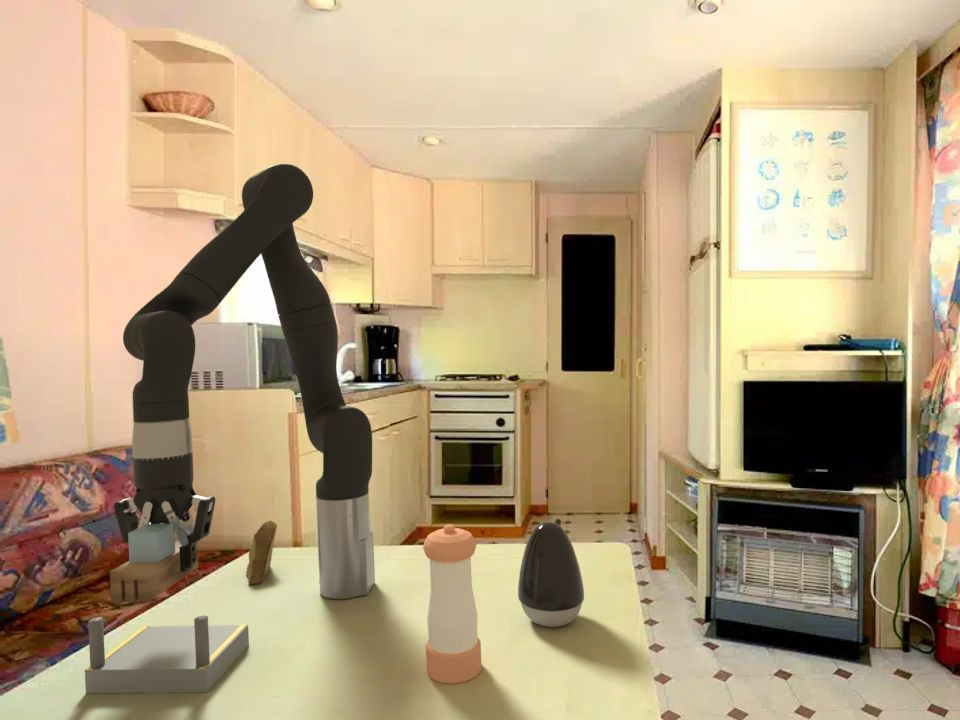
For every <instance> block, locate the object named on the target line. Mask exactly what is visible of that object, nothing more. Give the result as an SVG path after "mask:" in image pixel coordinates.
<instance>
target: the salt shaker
mask: <svg viewBox="0 0 960 720" xmlns="http://www.w3.org/2000/svg"><path fill="white" fill-rule="evenodd" d="M454 525H455V524H450V523H449V524H448V523H447V524H446V525H445V524H444V526H443V528H441V529H440V528H439V529H437V530H435V531H433V532H431V533H429V534H428V535H427V537H426V538H425V541H424V542H423V547H422V549H423V551H424V555H425V556H426V558H427V559H429V575H430V577H429V578H430V579H429V580H430V583H429V585H430V592H429V601H428V610H427V619H426V621H427V634H428V639H427V642H426V645H425V655H426V656H425V657H426V658H425V659H426V660H425V661H426V672H427V675H428V676H429V677H430V679H432V680H434V681H436V682H438V683H442V684H459V683H465V682H468V681H471V680H474V678H475V677H478V675H479V674H480V672H481V671H482V666H483V665H482V647H481V646H482V645H481V643H482V642H481V639H480V638H479V636H478V612H477V606H476V601H475V595H474V590H473V581H472V580H473V578H472V561H471V560H472V556H473V555H474V554H475V551H476V548H477V543H476V542H477V541H476V539H475V537H474V536H473V535H472V533H471V532H470V531H468V530H466V529H463V528H458V527H455V526H454Z"/></svg>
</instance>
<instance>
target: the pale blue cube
mask: <svg viewBox="0 0 960 720" xmlns="http://www.w3.org/2000/svg"><path fill="white" fill-rule="evenodd" d="M175 535H176V533H175V532H173V524H164V523H160V524H148V525H144V526H142V527H140V528H138V529H135V530H133V531H131V532H129V533H128V540H129V543H128V559H129V560H128V561H129V563H140V562H160V561H161V560H163V559H165V558H166V557H168V556H170V555H171V554H173V553H175V541H176V540H175V539H176V538H175Z"/></svg>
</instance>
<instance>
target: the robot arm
mask: <svg viewBox="0 0 960 720" xmlns="http://www.w3.org/2000/svg"><path fill="white" fill-rule="evenodd" d="M313 199H314V188H313V184H312V181H311V180H310V178H309V177H308V175H307V174H306V173H305V172H304V171H303V170H302V169H301V168H299V167H298V166H297V165H294V164H291V163H278V164H273V165H270V166H269V167H266V168H264V169H263V170H261V171H259V172H258V173H257V172H256V173H255V174H253V175H252V176H250V177H249V178H248V179H247V180H246V181H245V183H244V184H243V186H242V190H241V201H242V207H243V209H244V210H243V211H242V212H241V213H240V214H239V215H238V216H237V217H236V218H235V219H234V220H233V221H232V222H231V223H230V224H229V225H228V226H226V227H225V228H224V229H223V230H222V231H221V232H219V233H218V234H217V235H216V236H215V237H214V238H212V239H211V240H210V241H208V242H207V244H206V245H204V246H203V247H201V249H200V250H199V251H198V252H196V254H195V255H194V256H193V257H191V259H190V260H189V261H188V262H187V263H186V264H185V266H184V267H182V269H181V270H180V271H179V272H178V274H177V275H176V276H175V277H174V278H173V280H172V281H171V282H170V283H169V284H168V285H167V286H166V287H165V288H164V289H163V290H161V291H160V292H158V293H157V294H156V295H155V296H154V297H153V298H152V299H150V301H148V302H147V303H146V304H145V305H143V306H142V307H141V308H140V309H139V310H138V311H136V313H135V314H134V315H133V316H132V317H131V318H130V319H129V320H128V322H127V324H126V326H125V328H124V330H123V333H122V341H123V346H124V348H125V350H126V351H127V353H128V354H130V355H131V356H132V357H133V358H135V359H137V360H140V361H143V364H142V376H141V379H140V380H139V381H138V382H136V383H135V385H134V387H133V390H132V413H133V414H132V415H133V427H132V428H133V429H132V437H131V440H132V441H131V442H132V443H131V444H132V447H131V448H132V449H131V450H132V464H133V465H132V468H133V469H132V472H133V486H134V488H135V490H136V491H135V493H134V496H133V497H126V498H123V499H121V500H118V501H116V502H114V504H113V509H114V513H115V516H116V520H117V523H118V527H119V531H120V534H121V538H122V541H123V542H124V543H126V544H129V540H128V533H129V532H131V531H133V530H135V529H138V528H140V527H142V526H144V525H148V524H173V532H175V535H176V536H177V540H178V541H180V544H181V545H182V546H180V547H179V549H180V568H181V572H187V571H189V570H190V569H192V567H193V565H195V563H196V542H197V543H198V542H199V541H201V540H202V539H204V538H206V537H208V536H209V534H210V531H211V526H212V522H213V521H212V520H213V515H214V510H215V505H216V498H215V496H214V495H209V496H208V497H206V496H201V495H197V494H196V492H195V490H194V486H193V484H194V483H193V482H194V478H195V477H194V455H193V434H192V427H191V422H190V399H189V386H190V381H191V377H192V372H193V367H194V366H193V365H194V360H195V355H196V336H195V331H194V329H193V327H192V326H193V324H194V323H196V322H197V321H198V320H200V319H202V318H205V317H207V316H209V315H211V314H212V312H214V311H215V310H216V309H217V308H218V306H219V305H220V304H221V302H222V301H223V300H224V299H225V298H226V296H227V295H228V294H229V293H230V292H231V291H232V289H233V288H234V286H236V284H237V283H238V282H239V280H240V279H241V278H242V277H243V275H245V273H246V272H247V271H248V269H249V268H250V267H251V266H252V265H253V263H254V262H255V261H256V260H257V258H258V257H259V256H260V255H261V258H262V260H263V264H264V268H265V271H266V275H267V278H268V282H269V286H270V288H271V289H270V290H271V292H272V296H273V298H274V302H275V303H274V304H275V306H276V312H277V315H278V319H279V322H280V323H279V324H280V326H281V330H282V335H283V337H284V340H285V343H286V346H287V350H288V354H289V357H290V360H291V364H292V366H293V371H294V374H295V376H296V379H297V383H298V386H299V390H300V391H299V392H300V396H301V401H302V407H303V415H304V420H305V426H306V427H305V428H306V431H307V435H308V439H309V441H310V444H311V445H312V446H313V447H314V448H315V449H316V450H317V451H318V452H320V453H321V454H322V456H323V457H322V458H323V459H322V475H321V477H320V478H318V480H316V482H315V498H316V499H315V500H316V501H315V502H316V529H317V551H318V552H317V554H318V574H319V575H318V582H319V584H318V585H319V594H320V595H321V596H323V597H324V598H326V599H330V600H331V599H332V600H345V599H353V598H356V597H360V596H368V595H369V593H370V591H371V590H372V588H373V586H374V585H375V583H376V576H375V575H376V571H375V569H376V568H375V545H374V532H373V531H372V530H371V526H370V525H371V524H370V522H371V520H370V519H371V518H370V498H369V497H370V495H369V494H370V493H369V492H370V491H369V489H370V488H369V485H370V480H371V479H372V474H373V432H372V431H373V430H372V426H371V425H372V424H371V421H370V419H369V417H368V416H367V414H366V413H365V412H364V411H363V410H362V409H360V408H357V407H355V406H350V405H346V402H345V399H344V396H343V393H342V390H341V386H340V382H339V379H338V371H337V361H338V348H339V345H338V344H339V334H338V333H339V331H338V326H337V321H336V317H335V314H334V310H333V305H332V303H331V297H330V296H329V294H328V290H327V289H326V287H325V285H324V284H323V283H322V281H321V280H320V278H319V277H318V276H317V274H316V273H315V272H314V271H313V269H312V268H311V267H310V265H309V264H308V262H307V261H306V259H305V258H304V255H302V252H301V249H300V247H299V245H298V241H297V236H296V233H295V229H294V223H295V222H297V220H298V219H300V218H302V216H304V215H305V214H306V213H307V212H308V211H309V209H310V208H311V206H312V203H313V201H314V200H313ZM192 506H193V507H194V512H196V515H195V520H194V518H193V516H192V513H191V511H190V509H191V508H192ZM137 509H138V511H139V512H140V514H141V516H140V519H139V518H138V515H137V512H136V511H137Z"/></svg>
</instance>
